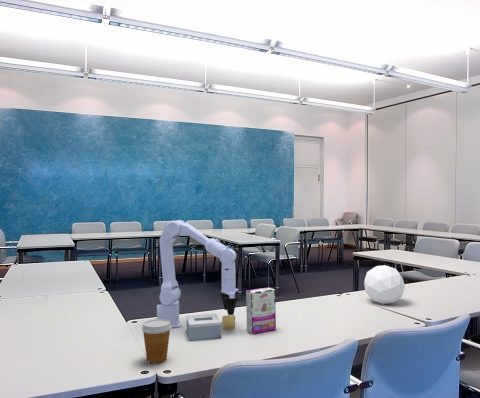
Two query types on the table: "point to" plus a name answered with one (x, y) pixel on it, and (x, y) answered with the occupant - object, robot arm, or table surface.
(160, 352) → the disposable coffee cup
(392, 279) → the polyhedron
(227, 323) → the block
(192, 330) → the coin box
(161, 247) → the robot arm
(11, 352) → the table surface
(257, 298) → the candy bar box
